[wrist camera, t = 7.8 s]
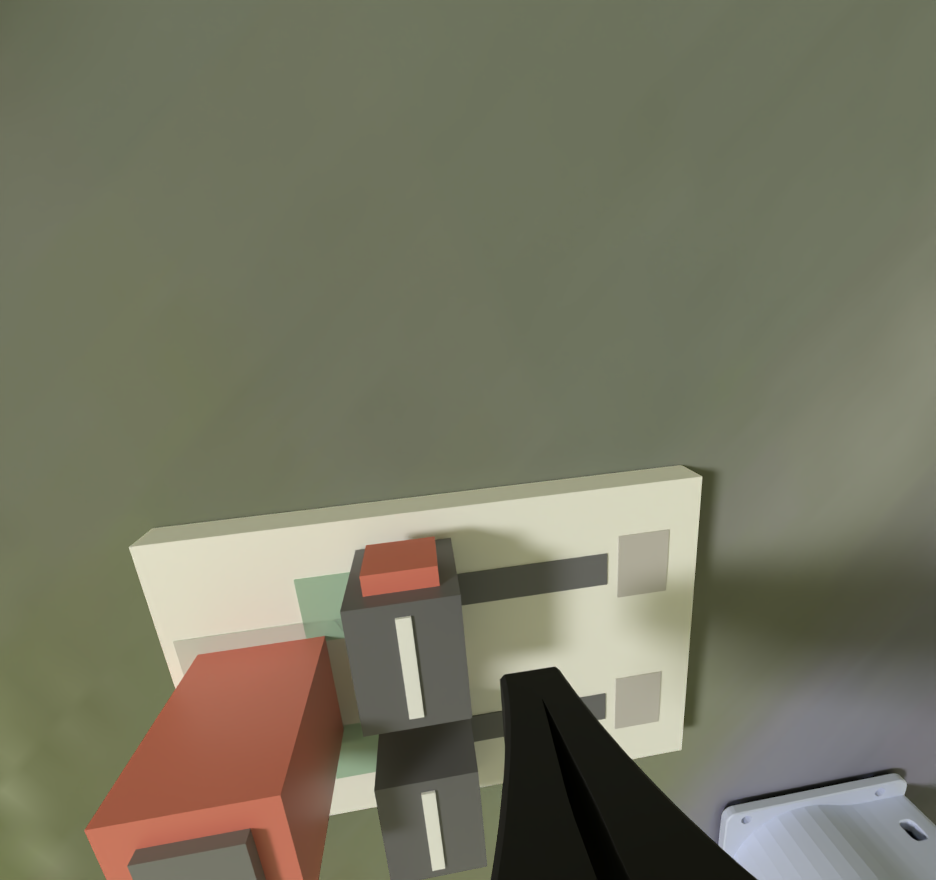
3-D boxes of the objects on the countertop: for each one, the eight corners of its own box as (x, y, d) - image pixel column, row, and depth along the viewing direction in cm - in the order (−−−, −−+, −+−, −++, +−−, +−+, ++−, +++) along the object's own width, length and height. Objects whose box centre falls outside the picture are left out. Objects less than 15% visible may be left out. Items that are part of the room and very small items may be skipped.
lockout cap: (325, 635, 14) (276, 810, 9) (343, 729, 15) (310, 931, 10) (197, 654, 14) (73, 847, 9) (226, 749, 15) (131, 969, 10)
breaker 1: (448, 520, 14) (458, 575, 11) (461, 641, 15) (472, 720, 12) (352, 532, 13) (335, 592, 10) (373, 655, 15) (362, 739, 12)
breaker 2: (466, 688, 15) (478, 774, 13) (474, 771, 17) (487, 868, 14) (381, 701, 15) (374, 793, 12) (395, 786, 16) (391, 888, 13)
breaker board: (681, 464, 16) (703, 476, 14) (665, 723, 19) (682, 751, 18) (152, 528, 14) (127, 547, 13) (236, 801, 17) (223, 836, 16)
